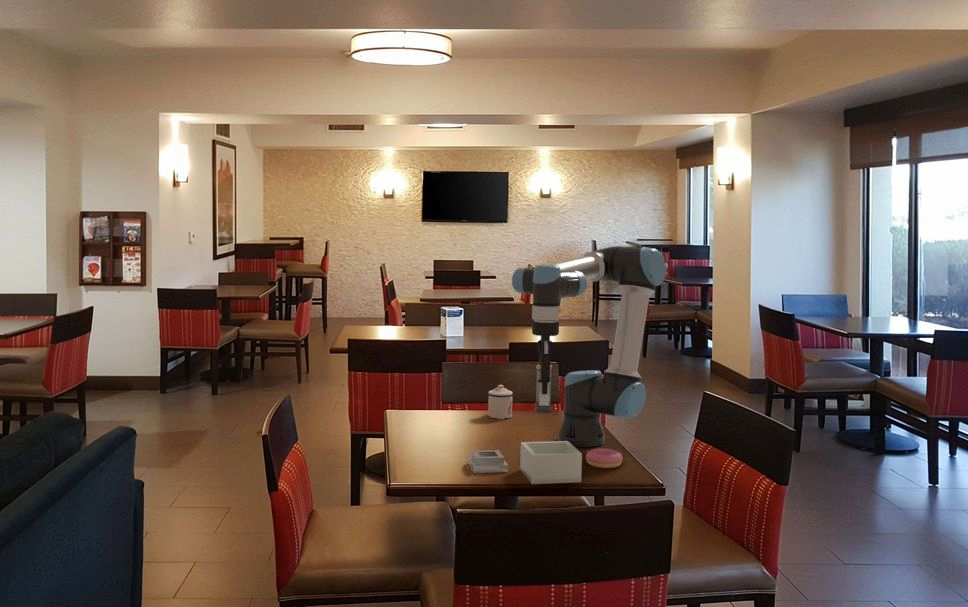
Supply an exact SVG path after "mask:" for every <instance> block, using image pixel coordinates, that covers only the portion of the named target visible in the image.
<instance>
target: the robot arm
mask: <svg viewBox="0 0 968 607" xmlns="http://www.w3.org/2000/svg"><path fill="white" fill-rule="evenodd" d="M666 269H667V266H666V262H665V259H664V256H663V254H662V253H661V251H659V250H658V248H657V249H656V248H652V247H646V246H642V247H641V246H621V245H617V246H609V247H605V248H600V249H596V250H592V251H589V252H586V253H584V254H583V255H582V256H580V257H577V258H572V259H568V260H563V261H558V262H554V263H551V264H550V263H549V264H539V265H535V266H534V267H533V268H528V267H522V268H521V267H519V268H517V269H515V271H514V272H513V274H512V277H511V285H512V289H514V291H515V292H517V293H520V294H524V295H527V294H528V295H532V305H531V306H532V307H531V311H532V312H531V319H532V320H533V321H532V322H531V334H532V335H534V336H537V337H538V336H540V339H539V340H537V348H538V357H539V359H538V364H541V376H540V380H538V382H540V391H539V405H544V406H549V386H550V365H551V357H552V356H553V354H552V350H553V341H552V340H551V337H556V336H558V335H559V333H560V322H559V319H560V313H562V311H563V310H562V309H561V308H560V302H561V301H560V299H564V298H575V297H580V296H581V295H583V294H584V293H585V291H586V290H587V286H588V281H589V282H593V283H594V282H598V281H601V282H602V281H604V282H611V283H613V282H614V283H618V288H619V290H620V291H621V297H620V304H619V310H618V315H617V316H618V317H617V323H616V329H615V336H614V341H613V348H612V352H611V353H612V354H611V358H610V360H611V361H610V366H609V367H608V368H607V369H604V372H603V374H602V372H601V371H600V370H595V369H594V370H593V369H592V370H589V369H588V370H578V371H571V372H568V373H567V374H566V375H565V377H564V378H565V379H564V385H563V387H564V391H563V392H564V394H563V396H564V399H563V417H562V418H563V419H562V421H561V423H560V427H559V429H558V432H557V441H568V442H570V443H571V444H572V445H573V446H574V447H575V448H577V447H580V448H591V447H600V446H602V445H604V444H605V439H606V438H605V433H604V429H603V426H602V423H601V422H602V421H601V418H600V417H601V415H606V416H610V417H616V418H620V419H633V418H635V417H637V416H638V415H639V414H640V413H641V411H642V410H643V407H644V405H645V403H646V398H647V391H646V386H645V384H643V383H642V382H641V381H642V377H641V375H640V373H639V372H638V369H639V368H638V367H639V362H640V358H641V350H642V345H643V344H642V343H643V338H644V332H645V324H646V321H647V314H648V307H649V300H650V297H651V296H652V295H653V294H655V293H656V288H657V287H658V286H661V285H662V284H663V283H664V281H665V279H666V274H667V270H666ZM602 375H603V376H602Z"/></svg>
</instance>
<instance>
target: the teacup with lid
mask: <svg viewBox="0 0 968 607" xmlns="http://www.w3.org/2000/svg"><path fill="white" fill-rule="evenodd" d="M487 395H488V402H487V404H488V405H487V407H488V409H487V410H488V412H487V417H488V416H489V417H488V418H490V417H491V418H490V419H492V418H499V419H498V420H505V419H504V418H509V419H511V418H512V416H513V395H514V393H513V391H512V390H509V389H507V388H506V387H504V385H503V384H498V385H497V387H496V388H494V389H492V390H489V391H488V392H487ZM510 417H511V418H510Z"/></svg>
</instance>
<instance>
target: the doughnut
mask: <svg viewBox="0 0 968 607" xmlns="http://www.w3.org/2000/svg"><path fill="white" fill-rule="evenodd" d="M585 458H586V459H585V461H586V463H587V464H588V465H590V466H592V467H594V468H598V469H599V468H600V469H613V468H618V467H619V466H621V464H622V463H623V455H622V453H621V452H620V451H618V450H616V449H612V448H605V447H603V448H602V447H599V448H593V449H590V450H589V451H587V452H586V455H585Z"/></svg>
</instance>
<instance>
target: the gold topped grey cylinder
mask: <svg viewBox="0 0 968 607" xmlns="http://www.w3.org/2000/svg"><path fill="white" fill-rule="evenodd" d="M535 368H536V394H535V395H536V399H535V402H534V412H536V413H540V414H549V413H551V412H552V405H553V404H552V402H551V396H552V370H553V365H552V364H550V386H549V406H544V405H539V391H540V382H538V380H540V376H541V364H539V363H538V364H536V367H535Z"/></svg>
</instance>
